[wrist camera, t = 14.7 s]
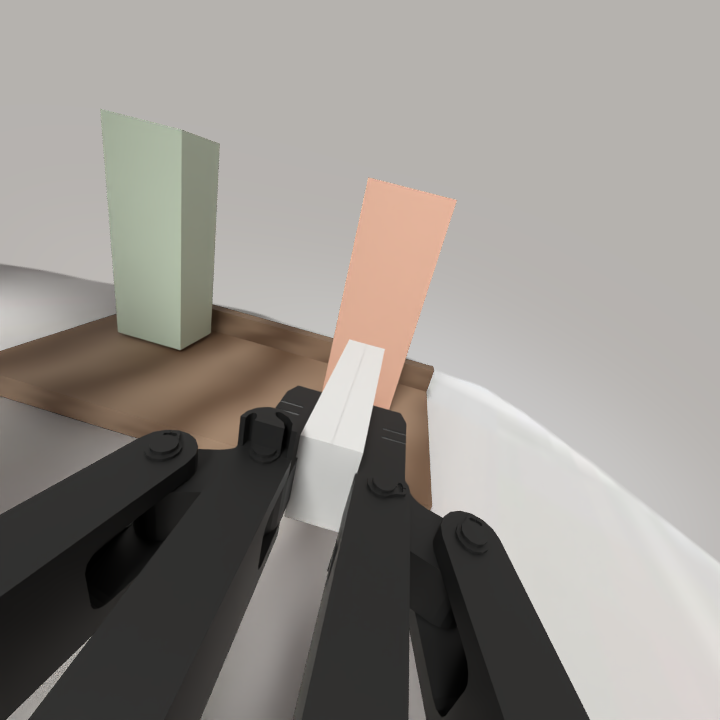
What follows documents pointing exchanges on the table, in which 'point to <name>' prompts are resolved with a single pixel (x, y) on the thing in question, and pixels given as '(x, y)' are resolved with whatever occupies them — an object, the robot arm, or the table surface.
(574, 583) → the table surface
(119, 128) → the pale green block
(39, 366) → the wooden board
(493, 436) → the table surface
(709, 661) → the table surface
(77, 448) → the table surface
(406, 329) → the salmon orange rectangular block
